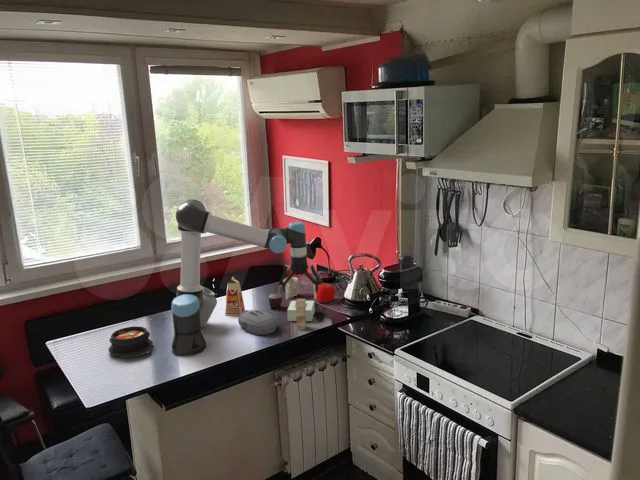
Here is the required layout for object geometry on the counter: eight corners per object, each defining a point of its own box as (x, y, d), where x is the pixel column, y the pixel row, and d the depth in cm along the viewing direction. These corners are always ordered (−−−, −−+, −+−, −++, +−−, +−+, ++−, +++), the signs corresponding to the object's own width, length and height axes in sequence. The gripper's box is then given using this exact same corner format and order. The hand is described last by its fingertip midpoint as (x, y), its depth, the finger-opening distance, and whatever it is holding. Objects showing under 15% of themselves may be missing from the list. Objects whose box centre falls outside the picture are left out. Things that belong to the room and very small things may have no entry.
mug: (299, 293, 299) (299, 277, 297) (296, 300, 287) (295, 283, 284) (285, 293, 300) (284, 277, 297) (281, 300, 288) (281, 283, 285)
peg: (305, 329, 246) (304, 301, 243) (296, 329, 247) (295, 301, 243) (306, 326, 250) (305, 298, 247) (298, 326, 250) (296, 298, 247)
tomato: (311, 304, 281) (310, 286, 279) (317, 297, 291) (317, 279, 289) (332, 305, 277) (332, 287, 275) (338, 298, 288) (337, 281, 286)
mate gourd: (266, 307, 277) (265, 281, 274) (279, 304, 281) (278, 278, 278) (273, 311, 271) (272, 284, 268) (286, 308, 275) (285, 281, 272)
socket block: (311, 321, 256) (311, 310, 254) (287, 321, 257) (287, 310, 256) (314, 311, 269) (314, 300, 268) (291, 311, 270) (291, 300, 269)
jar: (175, 320, 239) (208, 276, 241) (165, 306, 250) (197, 265, 252) (204, 336, 251) (236, 294, 253) (193, 322, 262) (224, 283, 264)
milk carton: (242, 315, 267) (239, 278, 263) (224, 315, 267) (221, 279, 263) (245, 309, 276) (242, 273, 271) (228, 309, 276) (225, 273, 272)
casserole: (102, 346, 234) (100, 329, 232) (143, 336, 245) (142, 319, 243) (117, 366, 214) (114, 347, 212) (161, 353, 225) (159, 335, 223)
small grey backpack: (234, 327, 252) (258, 339, 237) (233, 311, 250) (257, 322, 235) (259, 319, 261) (284, 330, 247) (258, 303, 259) (283, 313, 245)
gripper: (325, 252, 243) (327, 295, 247) (273, 253, 245) (276, 296, 250) (324, 256, 235) (326, 300, 240) (270, 257, 238) (273, 301, 243)
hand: (301, 298), depth 245 cm, fingers open, 13 cm apart
